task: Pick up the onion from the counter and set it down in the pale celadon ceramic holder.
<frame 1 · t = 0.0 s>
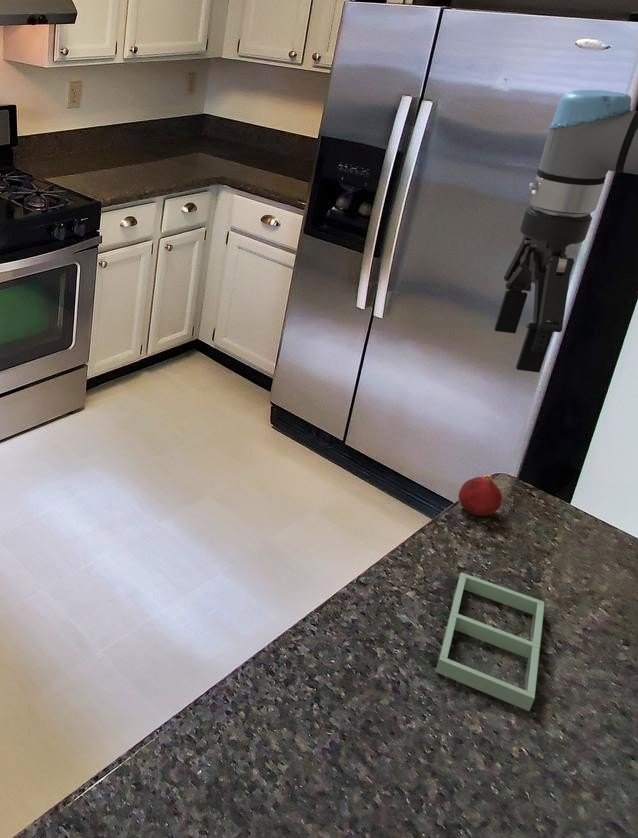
hand: (515, 350, 117), 30 cm above the countertop, tool pointing down, fingers open, 13 cm apart
holder: (488, 646, 105), on the countertop
onion: (473, 516, 130), on the countertop
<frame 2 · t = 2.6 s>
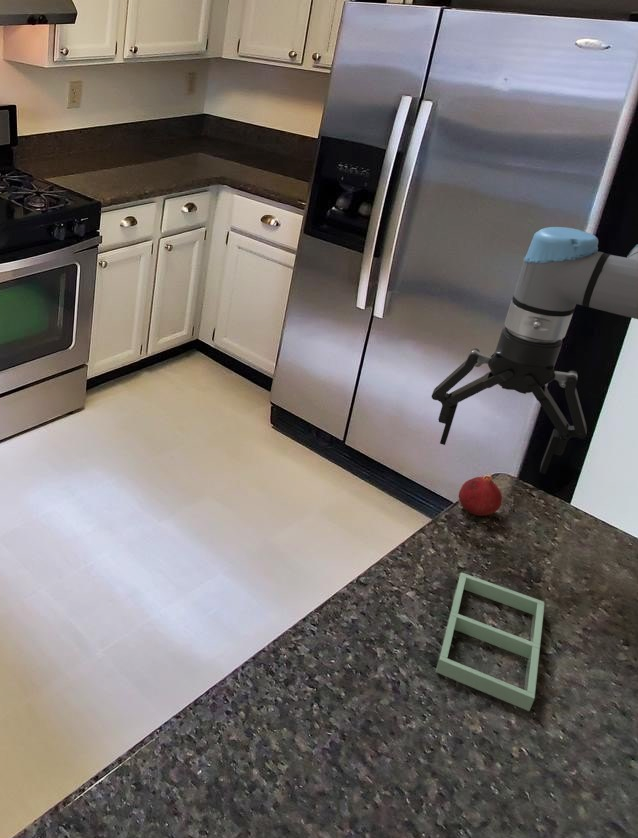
hand: (491, 454, 125), 12 cm above the countertop, tool pointing down, fingers open, 13 cm apart
nothing on the countertop moved.
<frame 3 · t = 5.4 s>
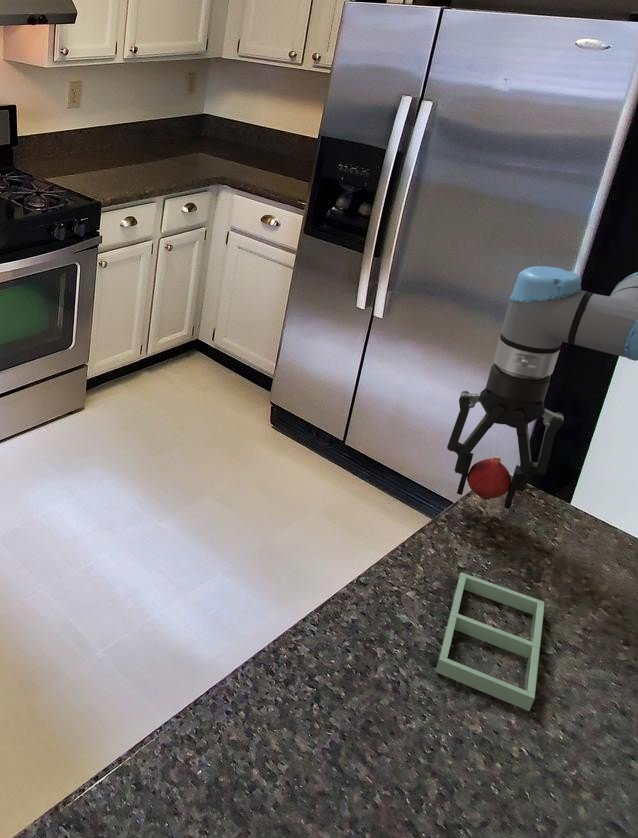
hand: (483, 496, 128), 4 cm above the countertop, tool pointing down, fingers closed on onion, 6 cm apart
onion: (483, 499, 128), point 3 cm above the countertop, touching gripper
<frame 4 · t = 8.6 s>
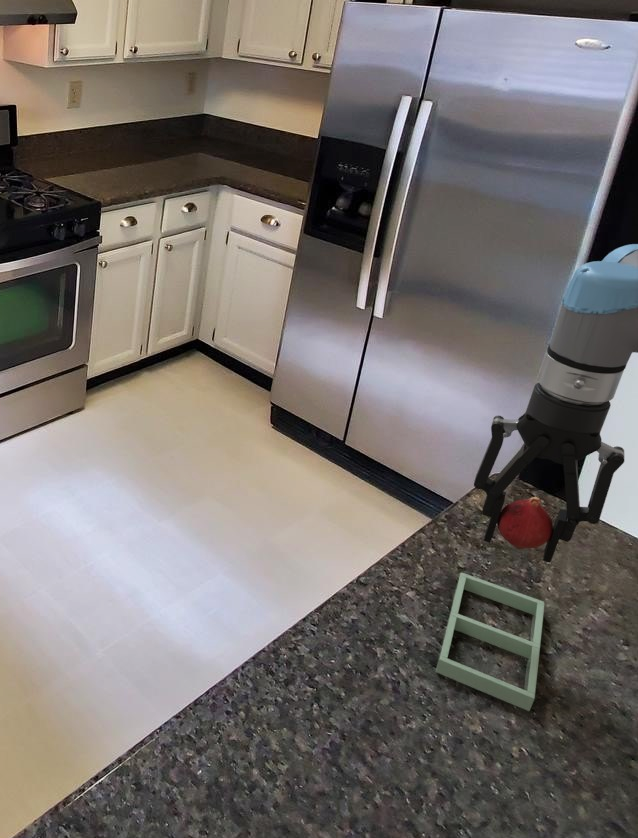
hand: (517, 545, 104), 13 cm above the countertop, tool pointing down, fingers closed on onion, 6 cm apart
onion: (516, 548, 104), point 13 cm above the countertop, touching gripper
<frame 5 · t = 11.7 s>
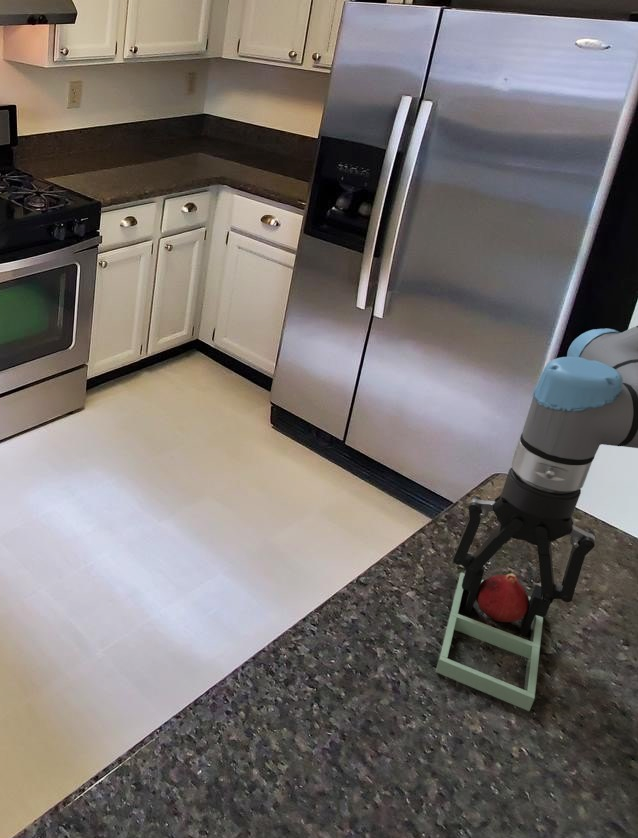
hand: (495, 618, 108), 1 cm above the countertop, tool pointing down, fingers closed on onion, 6 cm apart
onion: (494, 620, 108), point 1 cm above the countertop, touching gripper
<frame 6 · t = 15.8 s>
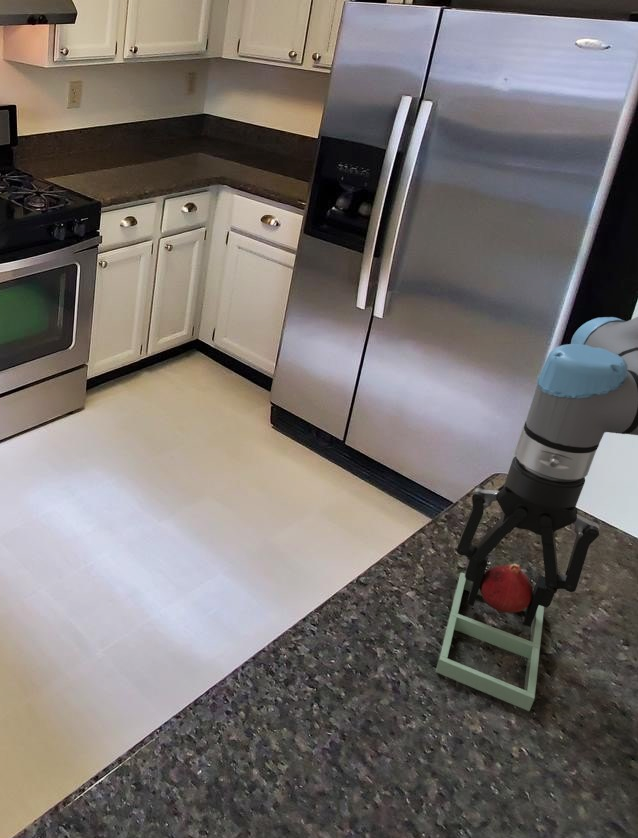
hand: (499, 609, 107), 3 cm above the countertop, tool pointing down, fingers closed on onion, 6 cm apart
onion: (498, 611, 108), point 2 cm above the countertop, touching gripper
when the fingers open (3 cm above the countertop, at t = 19.4 s): onion drops 2 cm, resting on holder.
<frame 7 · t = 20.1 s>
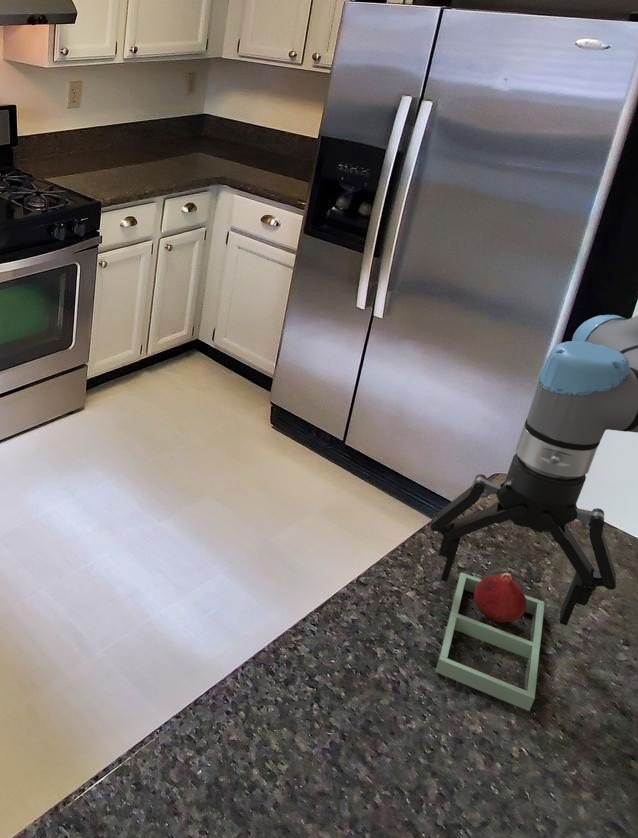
hand: (502, 596, 106), 5 cm above the countertop, tool pointing down, fingers open, 13 cm apart
onion: (494, 621, 108), point 1 cm above the countertop, touching holder
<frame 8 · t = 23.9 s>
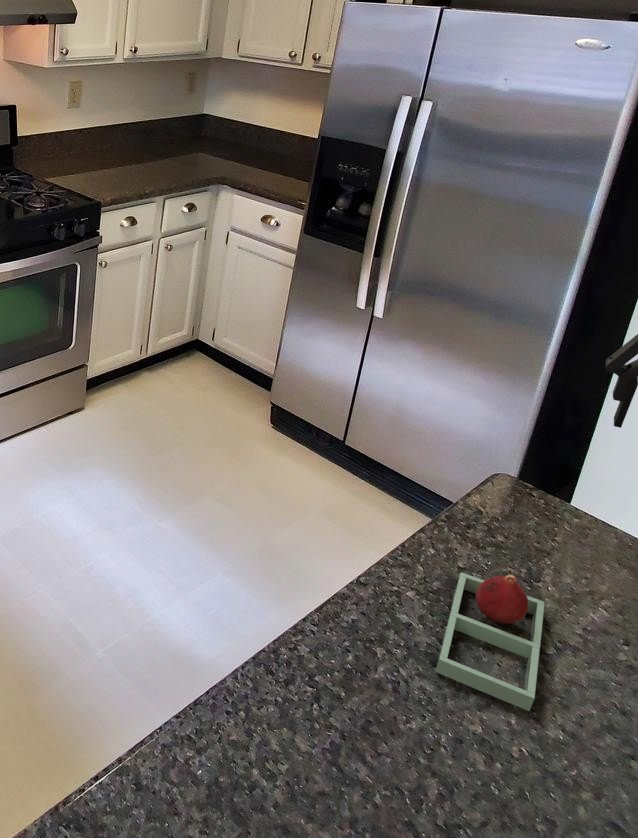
nothing on the countertop moved.
at the end: onion 0.1 cm from the target spot in the holder, point 0.6 cm above the holder's base; the gripper is holding nothing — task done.
